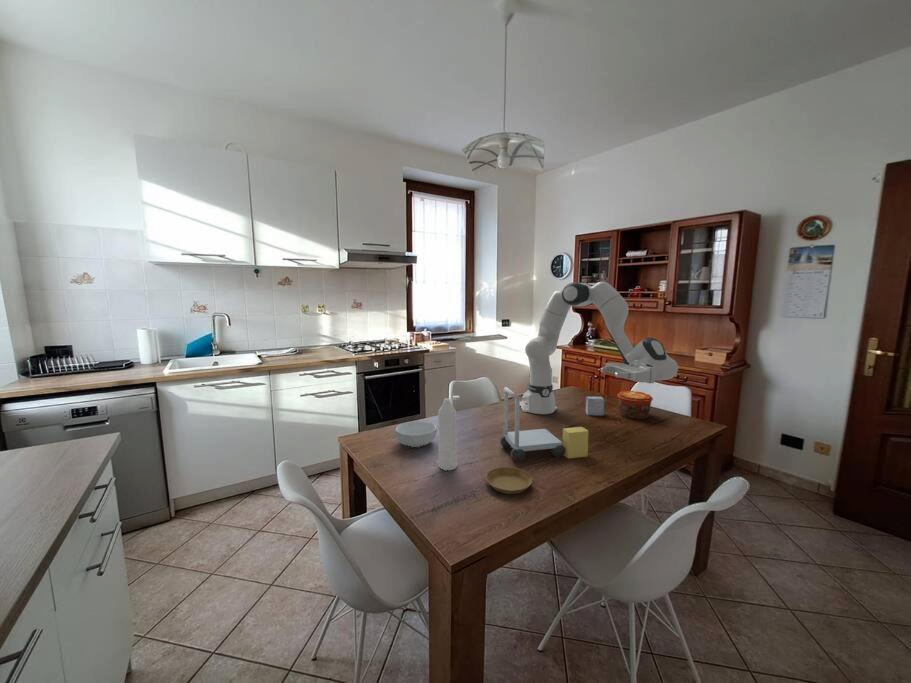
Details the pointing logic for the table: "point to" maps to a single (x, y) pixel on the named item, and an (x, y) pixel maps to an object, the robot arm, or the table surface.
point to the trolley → (527, 435)
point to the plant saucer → (509, 480)
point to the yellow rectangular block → (575, 442)
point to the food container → (634, 404)
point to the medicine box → (594, 406)
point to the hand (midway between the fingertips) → (608, 372)
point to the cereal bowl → (416, 433)
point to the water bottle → (447, 435)
